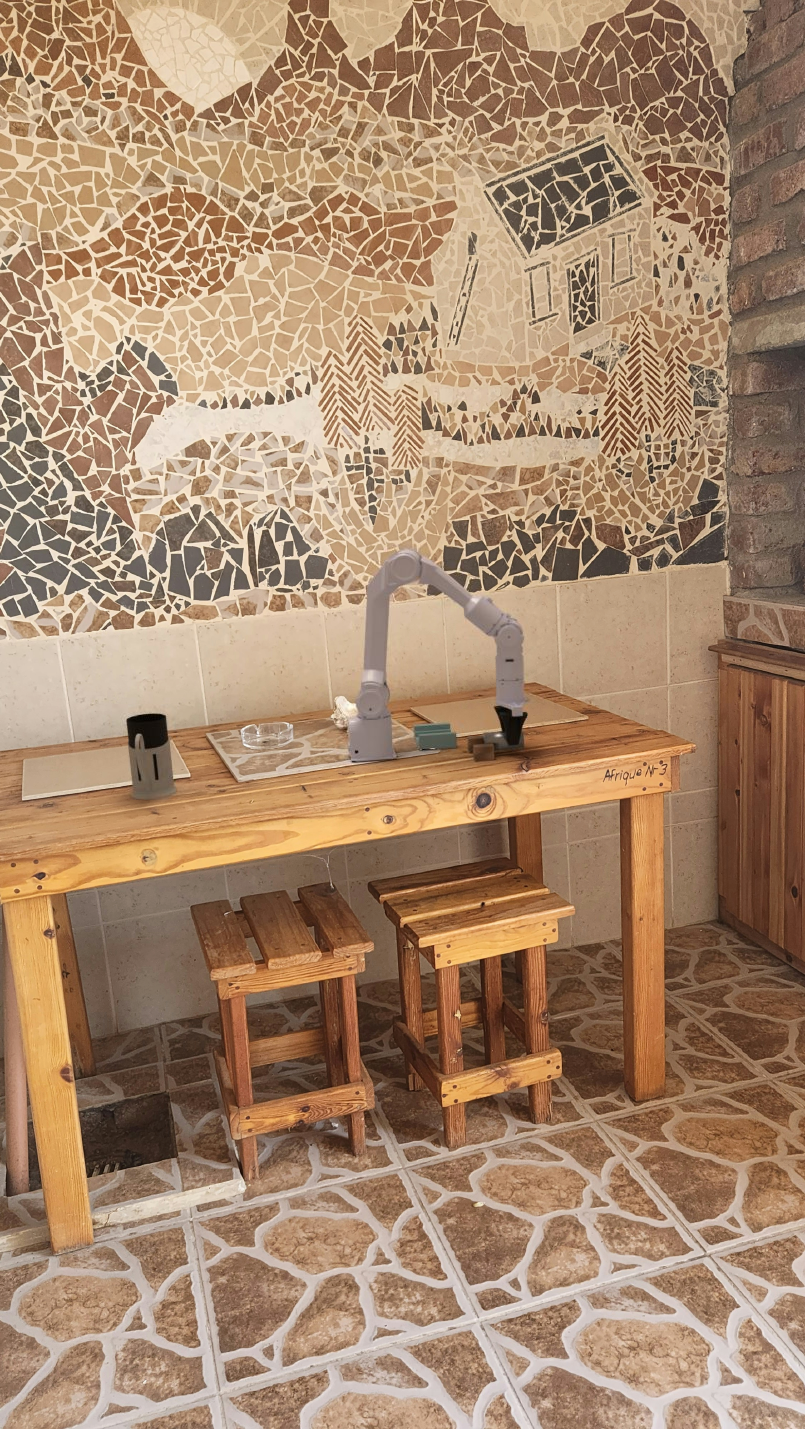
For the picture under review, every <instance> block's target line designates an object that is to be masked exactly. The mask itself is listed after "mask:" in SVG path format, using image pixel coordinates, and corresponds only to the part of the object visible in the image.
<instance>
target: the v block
mask: <svg viewBox="0 0 805 1429" xmlns="http://www.w3.org/2000/svg"><path fill="white" fill-rule="evenodd" d="M414 738H415V739H414ZM413 739H414V741H415V743H417V744H416V745H418V746H419V748H418V750H419V749H430V748H435V749H434V750H445V749H457V748H458V744H457V740H458V739H457V732H456V731H452V729H451V722H450V721H449V722H434V723H420V724H413ZM418 746H417V747H418Z"/></svg>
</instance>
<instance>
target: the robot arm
mask: <svg viewBox="0 0 805 1429" xmlns="http://www.w3.org/2000/svg"><path fill="white" fill-rule="evenodd" d="M417 578H418V579H419V580H418V582H417V584H420V585H429V586H434V588H436V589H438V590H439V591H440V592H442V593H443V594H444V595H445V596H446V597H449V598H450V599H451V600H452V601H453V602H455V603H456V604H458V605H459V606H460V607H461V608H462V609H463V613H464V614H463V615H464V618H465V619H466V620H468V621H469V622H470V623H472V625H474V626H475V627H476V628H478V630H480V631H482V633H484V634H485V635H486V636H488V637H493V639H494V643H495V645H496V656H495V687H496V688H495V692H496V694H495V697H496V698H495V704H496V705H494V706H493V708H494V711H495V713H496V715H497V717H498V722H499V726H500V729H501V731H506V738H507V742H508V745H509V746H510V745H519V741H520V736H521V731H522V732H523V728H524V724H525V721H526V720H527V718H528V716H529V714H528V712H527V711H524V710H523V709H524V708H523V707H524V705H525V703H530V702H531V698H530V697H529V696H525V680H524V679H525V677H524V675H525V673H524V671H525V670H524V663H525V662H524V655H523V653H524V649H523V648H524V647H523V643H524V642H525V641H524V640H525V636H524V630H523V627H522V625H521V624H520V622H518V620H517V618H514V617H512V615H511V614H510V613H509V612H504V611H503V610H501V608H500V607H498V606H497V605H496V604H495V603H493V601H494V598H492V597H490V596H487V597H486V596H484V595H482V594H478V595H474V594H471V593H470V592H469V591H468V590H467V589H466V588H465V587H463V585H461V584H460V582H458V581H457V580H456V579H454V578H453V577H452V576H451V575H449V573H447V572H446V571H445V570H444V569H443V568H442V567H441V566H439V565H438V564H437V563H435V562H434V561H433V560H431V559H429V558H428V557H426V556H425V555H421V553H420V552H418V551H417V550H416V549H414V548H411V547H405V548H402V549H400V550H398V551H397V552H394V554H392V555H391V556H389V557H388V558H387V559H386V561H384V563H383V565H381V567H380V568H379V569H378V570H377V572H376V573H375V574H374V576H373V577H372V578H371V580H369V582H368V584H367V587H366V588H367V589H366V607H365V608H366V610H365V631H364V633H365V634H364V651H363V654H364V655H363V669H362V671H363V672H362V676H361V682H360V690H359V692H358V693H357V696H356V698H355V707H356V709H357V712H356V715H353V716H348V717H347V734H348V743H347V751H348V753H349V757H351V758H350V761H351V762H352V761H356V762H367V761H380V760H381V761H383V760H393V759H397V756H398V755H397V753H396V752H395V751H396V750H395V748H394V746H393V745H394V744H393V743H394V742H393V724H392V723H393V722H392V711H391V710H390V709H389V708H388V705H387V704H388V702H389V701H390V698H391V690H390V688H389V685H388V682H387V675H388V674H387V657H388V656H387V655H388V653H387V652H388V637H389V635H388V634H389V632H388V631H389V621H390V620H389V619H390V618H389V616H390V598H391V595H392V594H393V593H394V592H396V591H397V590H398V589H399V588H400V587H403V586H405V585H408V584H411V583H413V582H415V580H417Z"/></svg>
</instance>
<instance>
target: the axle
mask: <svg viewBox="0 0 805 1429" xmlns="http://www.w3.org/2000/svg"><path fill="white" fill-rule="evenodd" d="M482 736H483V737H482V740H483V744H493V745H494V752H497V751H499V752H500V751H514V750H523V749H524V748H525V737H524V732H523V730H522V731H521V736H520V741H519V745H510V746H509V745H508V742H507V738H506V731H502V730H501V731H490V732H489V731H486V732H482Z"/></svg>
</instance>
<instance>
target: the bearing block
mask: <svg viewBox="0 0 805 1429" xmlns="http://www.w3.org/2000/svg"><path fill="white" fill-rule="evenodd" d="M482 737H483V735H470V736H467V751H468V753H469V754H472V753H473V758H472V759H473V760H474V762H486V761H487V762H488V761H495V751H494V745H493V744H483V740H482Z"/></svg>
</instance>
